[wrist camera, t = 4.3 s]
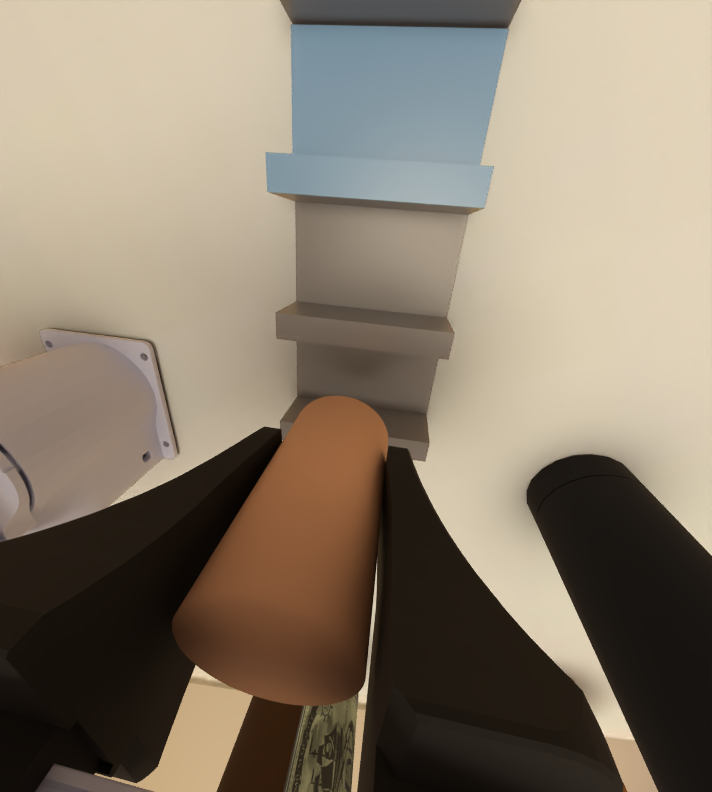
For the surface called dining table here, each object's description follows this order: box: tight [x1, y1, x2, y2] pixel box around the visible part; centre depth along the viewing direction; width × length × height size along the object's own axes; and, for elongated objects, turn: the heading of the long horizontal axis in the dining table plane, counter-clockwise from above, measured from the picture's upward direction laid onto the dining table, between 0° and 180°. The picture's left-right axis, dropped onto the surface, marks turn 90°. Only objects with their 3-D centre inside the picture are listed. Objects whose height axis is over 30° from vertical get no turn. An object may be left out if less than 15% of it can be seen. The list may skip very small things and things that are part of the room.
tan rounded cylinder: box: [172, 395, 388, 706], centre depth 9 cm, size 4×4×7 cm
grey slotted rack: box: [266, 0, 521, 461], centre depth 14 cm, size 19×8×4 cm, turn 175°
